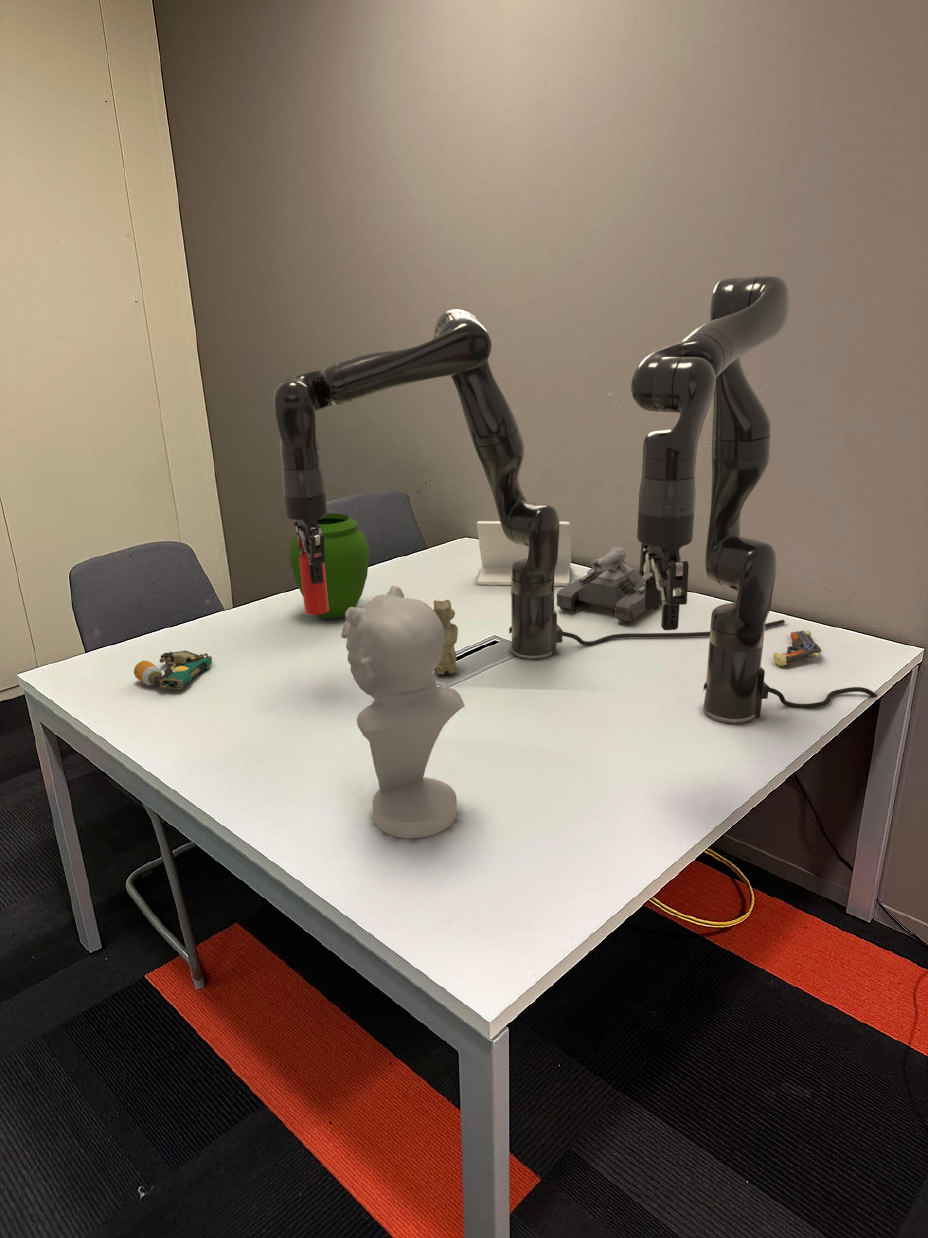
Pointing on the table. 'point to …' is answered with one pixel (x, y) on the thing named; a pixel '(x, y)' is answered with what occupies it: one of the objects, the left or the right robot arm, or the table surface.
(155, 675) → the spray gun
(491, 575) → the tablet stand
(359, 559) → the vase
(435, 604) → the sculpture
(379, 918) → the table surface
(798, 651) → the toy gun
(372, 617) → the bust sculpture
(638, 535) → the right robot arm
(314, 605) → the red cylinder
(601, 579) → the toy
